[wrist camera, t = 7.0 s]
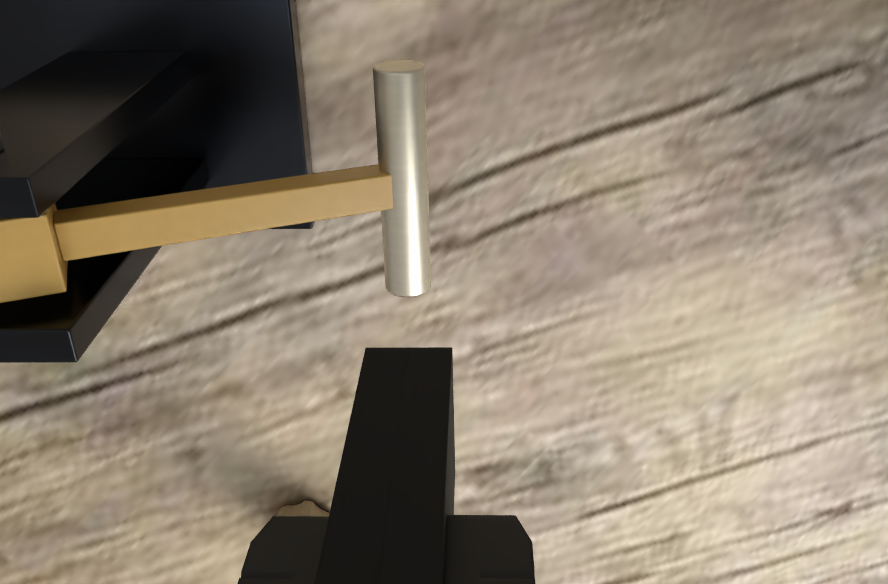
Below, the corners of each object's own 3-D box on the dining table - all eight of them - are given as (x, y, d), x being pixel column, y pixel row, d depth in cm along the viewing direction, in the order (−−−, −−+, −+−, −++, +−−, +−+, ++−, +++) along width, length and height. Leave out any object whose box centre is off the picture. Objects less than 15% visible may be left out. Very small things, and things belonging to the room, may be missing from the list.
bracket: (294, -16, 30) (180, 87, 18) (317, 217, 35) (237, 426, 22) (-37, -11, 31) (-367, 94, 18) (26, 219, 35) (-208, 427, 23)
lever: (409, 53, 25) (438, 72, 23) (417, 267, 28) (442, 299, 26) (-96, 106, 21) (-115, 134, 19) (-18, 347, 24) (-26, 392, 22)
